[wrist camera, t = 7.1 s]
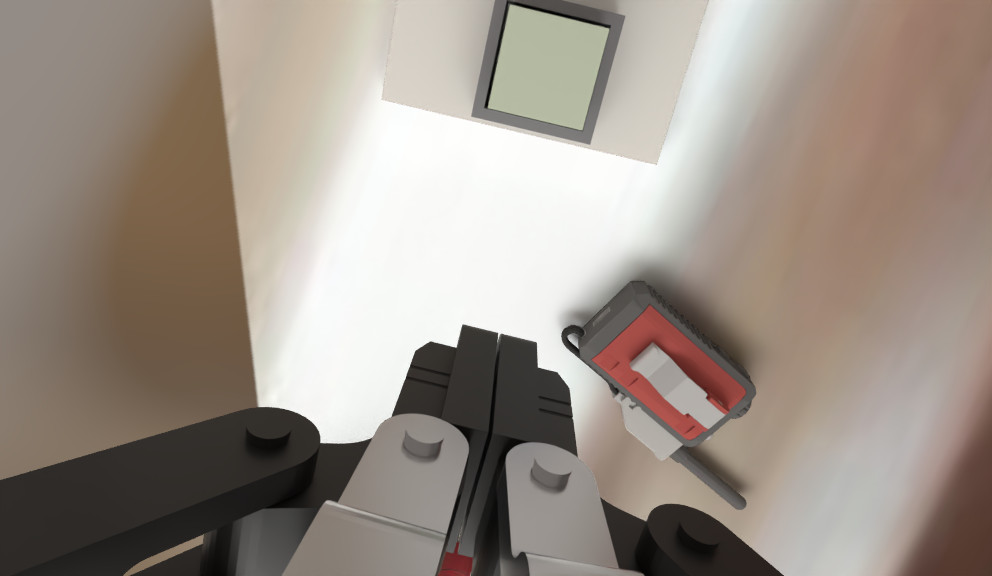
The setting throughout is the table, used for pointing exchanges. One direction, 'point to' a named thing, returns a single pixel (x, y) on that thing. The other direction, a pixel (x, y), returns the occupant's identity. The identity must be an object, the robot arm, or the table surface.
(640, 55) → the button panel
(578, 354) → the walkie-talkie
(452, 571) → the soda can
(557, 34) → the sage green button
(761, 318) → the table surface
